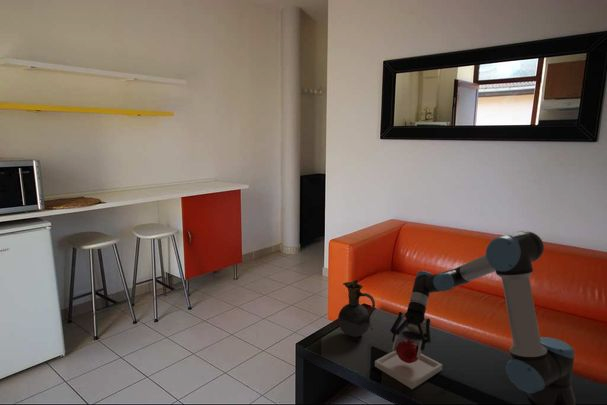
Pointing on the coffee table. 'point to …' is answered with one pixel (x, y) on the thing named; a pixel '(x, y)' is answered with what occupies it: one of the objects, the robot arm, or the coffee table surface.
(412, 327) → the fossilized seashell
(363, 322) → the pitcher
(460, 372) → the coffee table surface
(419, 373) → the tray
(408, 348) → the pomegranate
